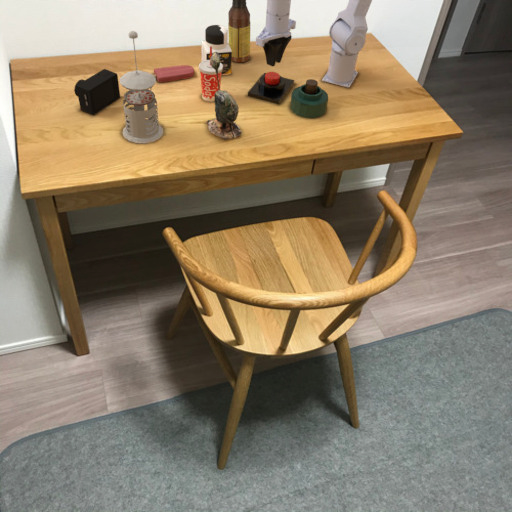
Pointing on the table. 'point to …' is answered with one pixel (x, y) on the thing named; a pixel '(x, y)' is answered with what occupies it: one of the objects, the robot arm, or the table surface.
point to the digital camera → (97, 91)
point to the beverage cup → (209, 79)
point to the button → (272, 78)
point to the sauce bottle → (239, 31)
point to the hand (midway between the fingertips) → (273, 63)
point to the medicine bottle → (217, 46)
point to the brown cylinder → (311, 87)
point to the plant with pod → (223, 109)
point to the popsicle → (173, 73)
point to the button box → (271, 90)
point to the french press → (140, 105)
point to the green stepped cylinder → (308, 102)
